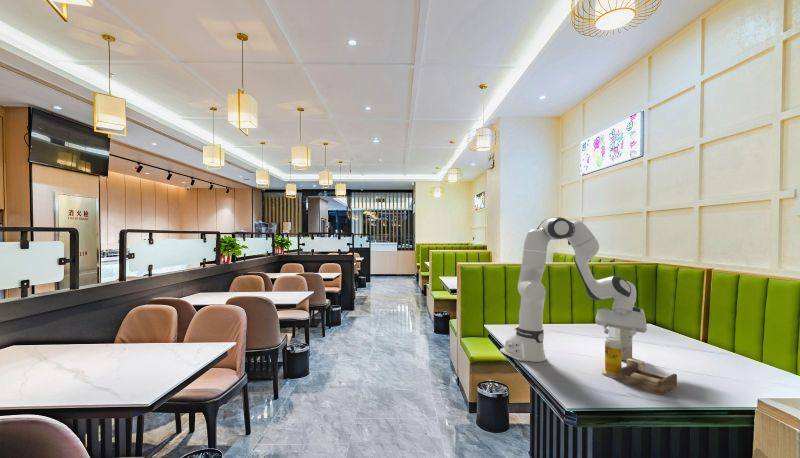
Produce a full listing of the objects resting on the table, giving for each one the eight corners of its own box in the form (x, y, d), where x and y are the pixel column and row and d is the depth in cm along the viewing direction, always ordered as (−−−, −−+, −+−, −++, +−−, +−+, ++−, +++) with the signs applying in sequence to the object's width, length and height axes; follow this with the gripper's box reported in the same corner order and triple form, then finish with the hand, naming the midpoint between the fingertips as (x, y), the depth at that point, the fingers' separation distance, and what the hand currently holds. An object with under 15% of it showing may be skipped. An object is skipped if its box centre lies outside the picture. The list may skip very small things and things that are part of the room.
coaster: (598, 373, 150) (598, 372, 150) (607, 370, 154) (607, 369, 154) (618, 380, 143) (618, 378, 143) (627, 376, 147) (627, 375, 147)
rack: (618, 381, 142) (618, 368, 142) (635, 374, 150) (635, 363, 150) (661, 395, 129) (661, 381, 130) (677, 387, 137) (676, 374, 137)
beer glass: (601, 371, 151) (601, 337, 152) (614, 371, 152) (614, 337, 152) (611, 376, 145) (611, 341, 146) (625, 376, 146) (624, 340, 146)
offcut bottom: (630, 384, 139) (630, 374, 139) (633, 382, 142) (633, 372, 142) (657, 392, 132) (657, 381, 133) (660, 389, 135) (660, 379, 135)
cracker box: (633, 362, 166) (632, 318, 167) (619, 360, 168) (619, 317, 169) (620, 353, 180) (620, 313, 181) (608, 352, 181) (608, 312, 182)
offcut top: (629, 365, 162) (626, 366, 160) (629, 358, 162) (626, 359, 160) (644, 369, 157) (641, 371, 155) (644, 362, 157) (641, 363, 155)
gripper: (597, 303, 169) (591, 326, 162) (647, 310, 155) (644, 335, 148) (599, 311, 172) (593, 334, 165) (648, 319, 159) (645, 344, 151)
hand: (617, 335), depth 156 cm, fingers open, 8 cm apart
